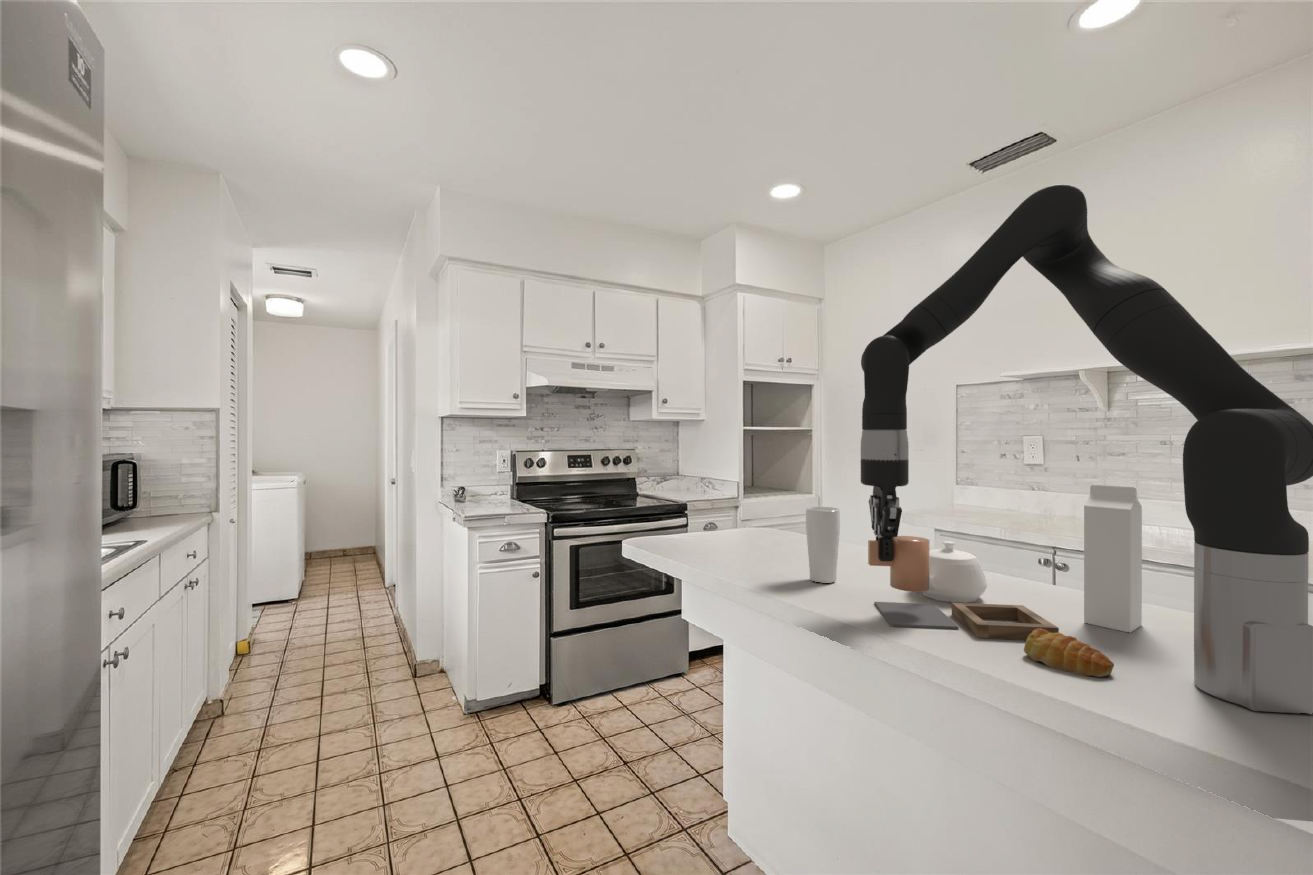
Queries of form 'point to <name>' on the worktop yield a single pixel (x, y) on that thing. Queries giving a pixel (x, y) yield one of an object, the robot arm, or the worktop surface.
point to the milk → (1113, 558)
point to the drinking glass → (823, 542)
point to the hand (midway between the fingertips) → (884, 559)
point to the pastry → (1066, 654)
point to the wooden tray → (975, 613)
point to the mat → (915, 615)
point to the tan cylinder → (905, 562)
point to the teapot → (954, 575)
